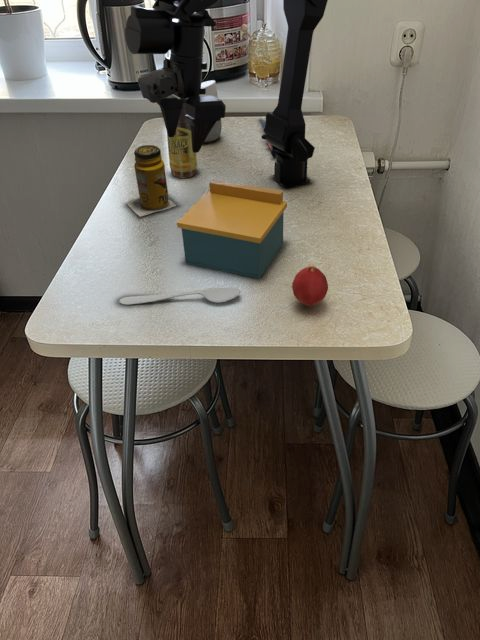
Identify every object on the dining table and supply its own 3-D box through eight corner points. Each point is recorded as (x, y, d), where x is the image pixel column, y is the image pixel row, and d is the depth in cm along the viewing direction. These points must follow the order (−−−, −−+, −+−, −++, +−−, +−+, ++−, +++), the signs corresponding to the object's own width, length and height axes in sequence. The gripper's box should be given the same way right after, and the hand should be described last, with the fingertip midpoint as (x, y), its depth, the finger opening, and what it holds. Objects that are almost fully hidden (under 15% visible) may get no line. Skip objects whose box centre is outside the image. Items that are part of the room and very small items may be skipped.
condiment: (176, 206, 123) (169, 151, 115) (139, 217, 120) (130, 161, 112) (161, 193, 128) (154, 139, 120) (125, 203, 124) (115, 149, 116)
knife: (271, 126, 160) (254, 123, 160) (273, 116, 159) (255, 113, 158) (286, 158, 141) (265, 156, 140) (288, 147, 139) (267, 145, 138)
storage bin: (214, 230, 115) (211, 195, 110) (283, 243, 111) (283, 207, 106) (185, 263, 107) (181, 226, 101) (259, 278, 102) (258, 241, 97)
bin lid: (210, 193, 111) (208, 178, 109) (287, 206, 106) (287, 191, 104) (177, 227, 101) (175, 212, 99) (260, 243, 97) (260, 227, 95)
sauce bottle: (166, 176, 134) (154, 86, 120) (178, 166, 138) (168, 77, 125) (191, 181, 132) (182, 90, 119) (203, 170, 136) (195, 80, 123)
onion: (289, 295, 99) (290, 255, 93) (323, 293, 99) (326, 253, 94) (294, 316, 94) (295, 275, 89) (329, 314, 95) (332, 273, 89)
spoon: (241, 305, 97) (241, 297, 96) (117, 309, 96) (115, 301, 95) (241, 290, 100) (240, 282, 99) (121, 294, 100) (119, 286, 98)
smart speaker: (196, 129, 155) (191, 74, 145) (228, 134, 152) (225, 77, 143) (180, 143, 148) (173, 85, 139) (212, 147, 146) (208, 89, 136)
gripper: (119, 42, 102) (121, 132, 111) (171, 67, 91) (169, 165, 100) (175, 43, 108) (173, 128, 117) (230, 66, 97) (223, 159, 106)
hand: (183, 144), depth 110 cm, fingers open, 9 cm apart
